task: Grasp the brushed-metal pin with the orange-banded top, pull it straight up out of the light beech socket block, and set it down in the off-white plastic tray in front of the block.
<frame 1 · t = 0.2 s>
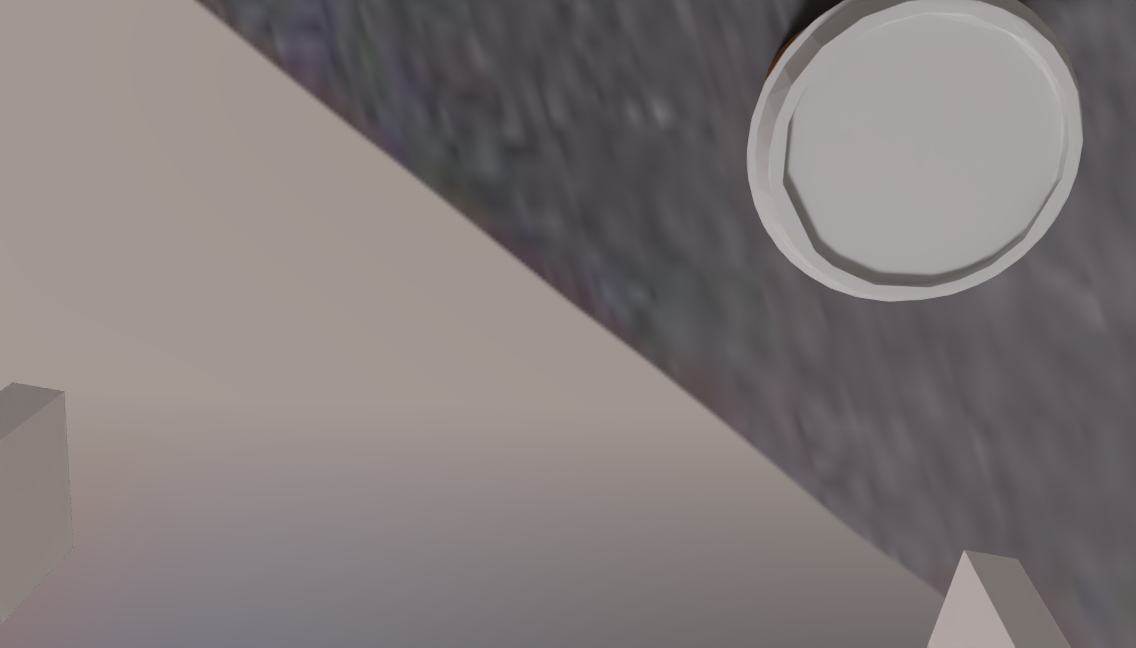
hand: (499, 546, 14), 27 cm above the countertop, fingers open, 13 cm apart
disposable coffee cup: (840, 96, 38), on the countertop
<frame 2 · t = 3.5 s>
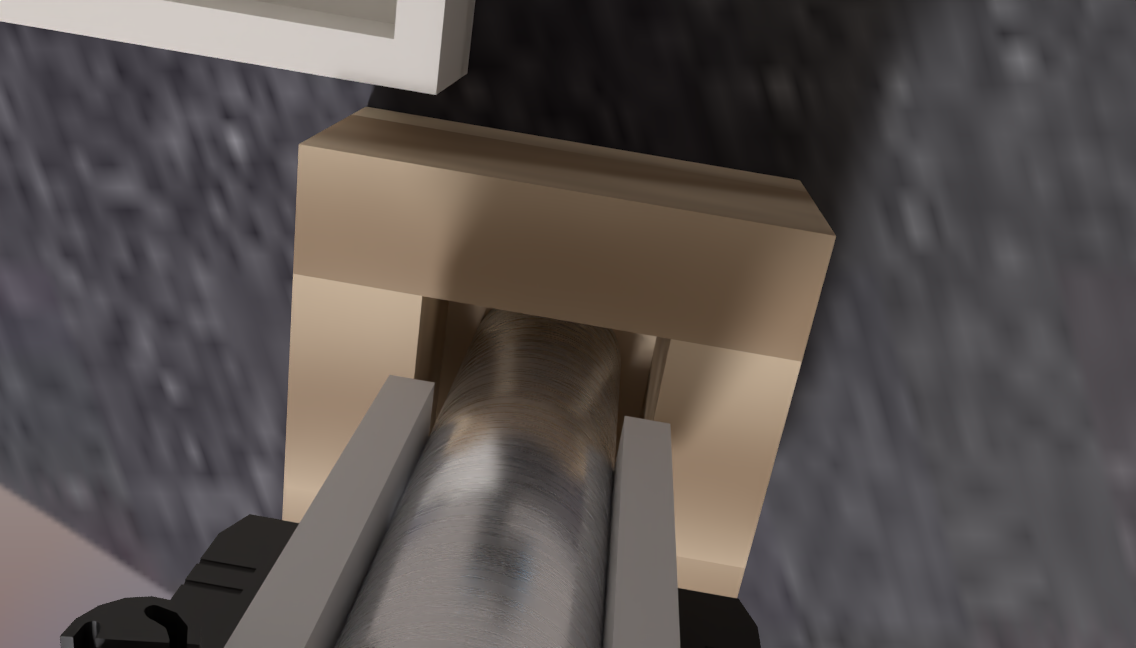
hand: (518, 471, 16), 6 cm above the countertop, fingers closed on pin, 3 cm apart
pin: (545, 360, 20), point 1 cm above the countertop, touching gripper, socket block
socket block: (550, 342, 21), on the countertop
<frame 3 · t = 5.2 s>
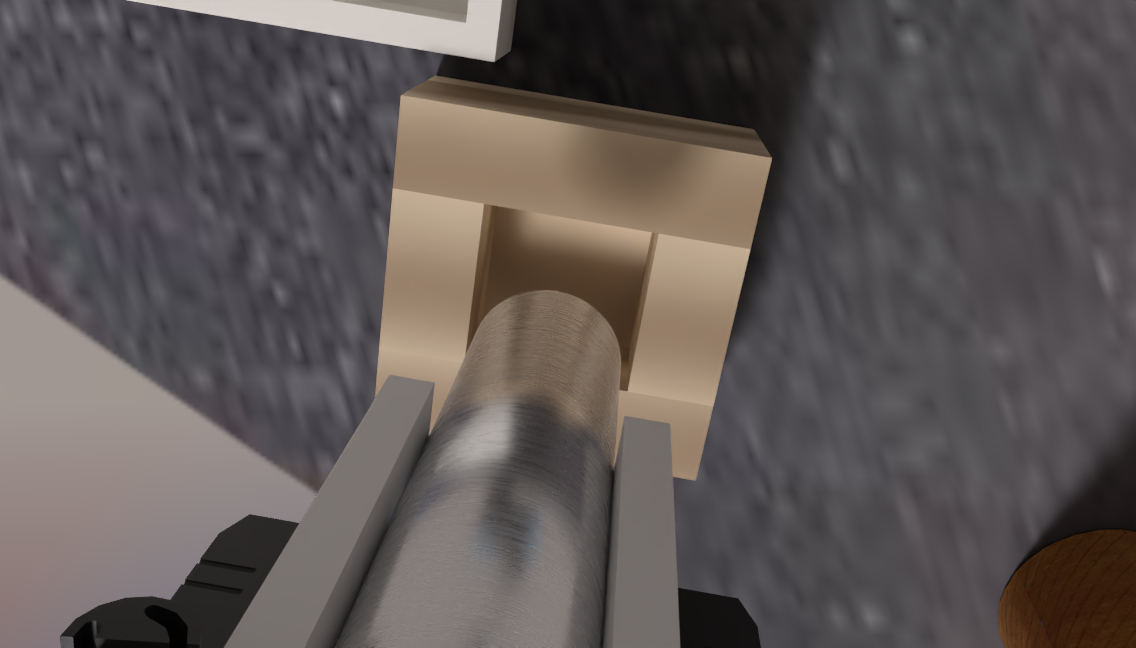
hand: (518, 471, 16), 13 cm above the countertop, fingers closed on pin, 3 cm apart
pin: (545, 360, 20), point 8 cm above the countertop, touching gripper
socket block: (569, 254, 28), on the countertop
disposable coffee cup: (1093, 605, 31), on the countertop
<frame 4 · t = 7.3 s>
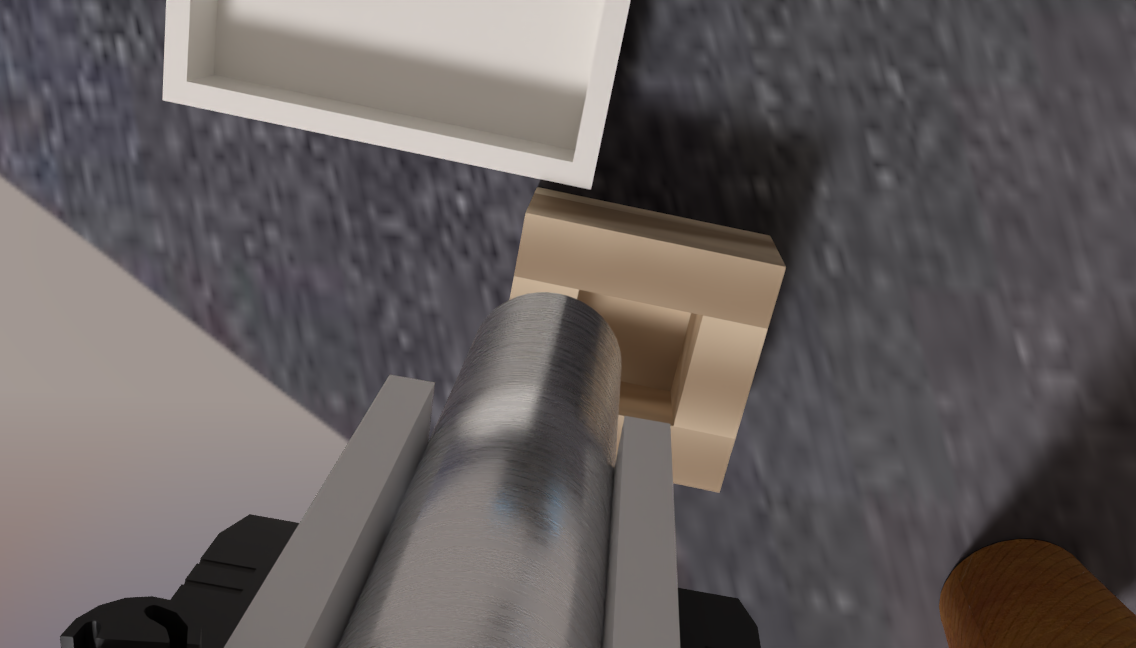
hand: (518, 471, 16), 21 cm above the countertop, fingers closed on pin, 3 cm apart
pin: (546, 362, 20), point 16 cm above the countertop, touching gripper
socket block: (628, 320, 37), on the countertop
disposable coffee cup: (1011, 597, 41), on the countertop
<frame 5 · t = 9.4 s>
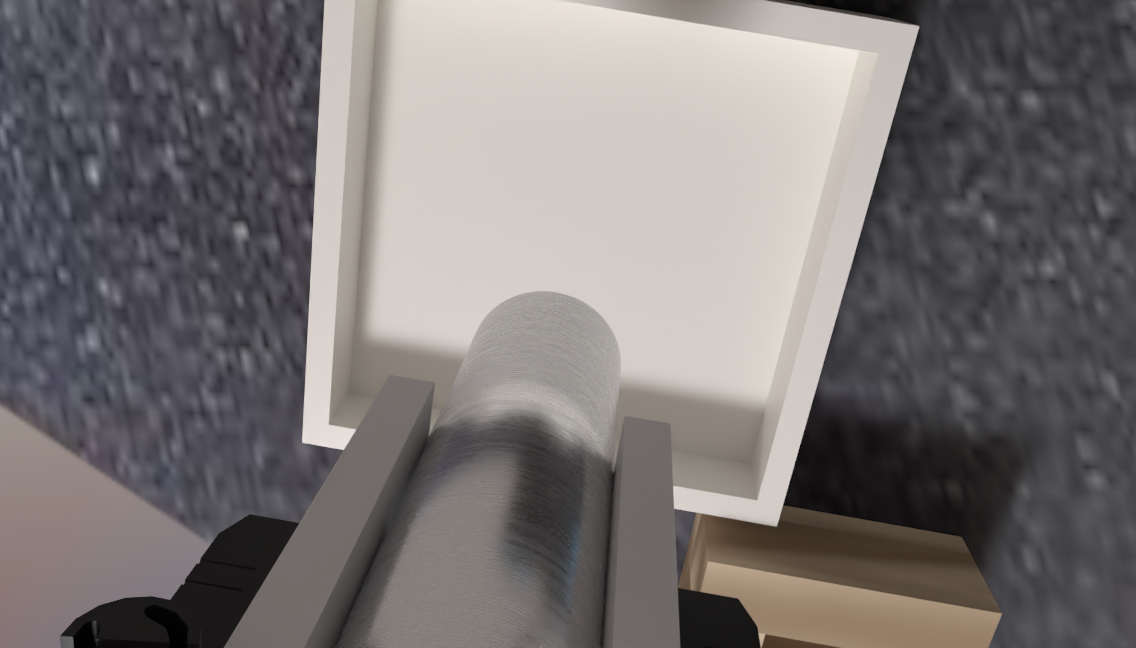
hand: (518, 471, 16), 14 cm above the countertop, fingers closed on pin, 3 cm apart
pin: (545, 362, 20), point 10 cm above the countertop, touching gripper
tray: (582, 228, 29), on the countertop
socket block: (799, 617, 34), on the countertop
when the fingers open (7 cm above the countertop, at t = 11.0 s): pin drops 1 cm, resting on tray.
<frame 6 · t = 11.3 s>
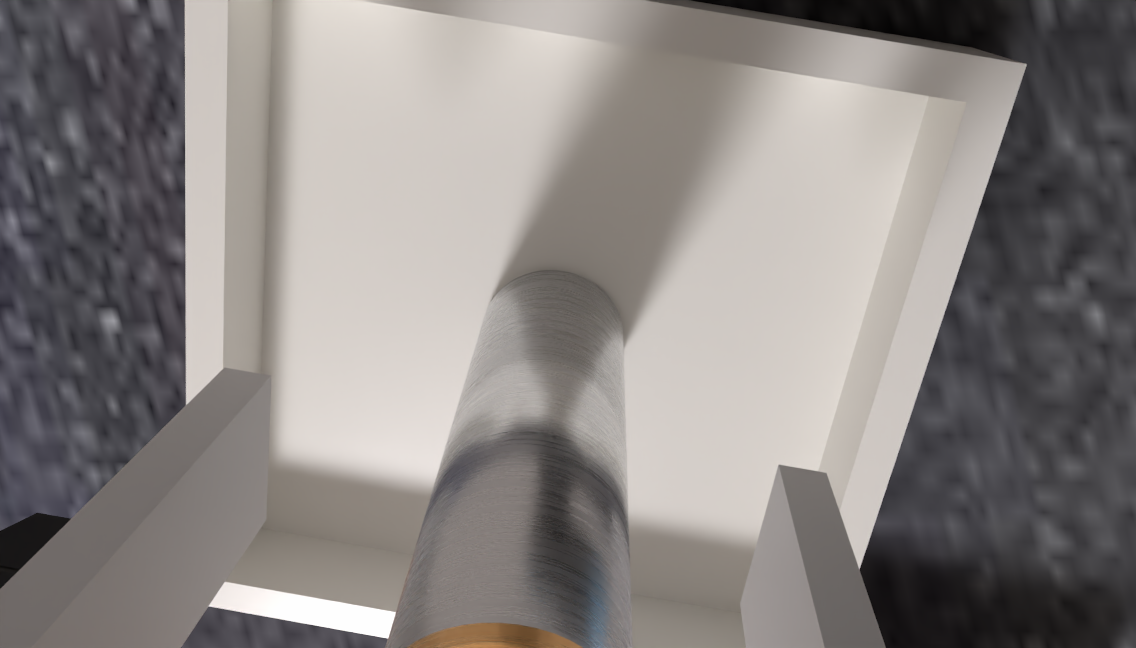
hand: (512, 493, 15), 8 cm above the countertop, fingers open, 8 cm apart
pin: (552, 335, 21), point 1 cm above the countertop, touching tray
tray: (555, 320, 22), on the countertop
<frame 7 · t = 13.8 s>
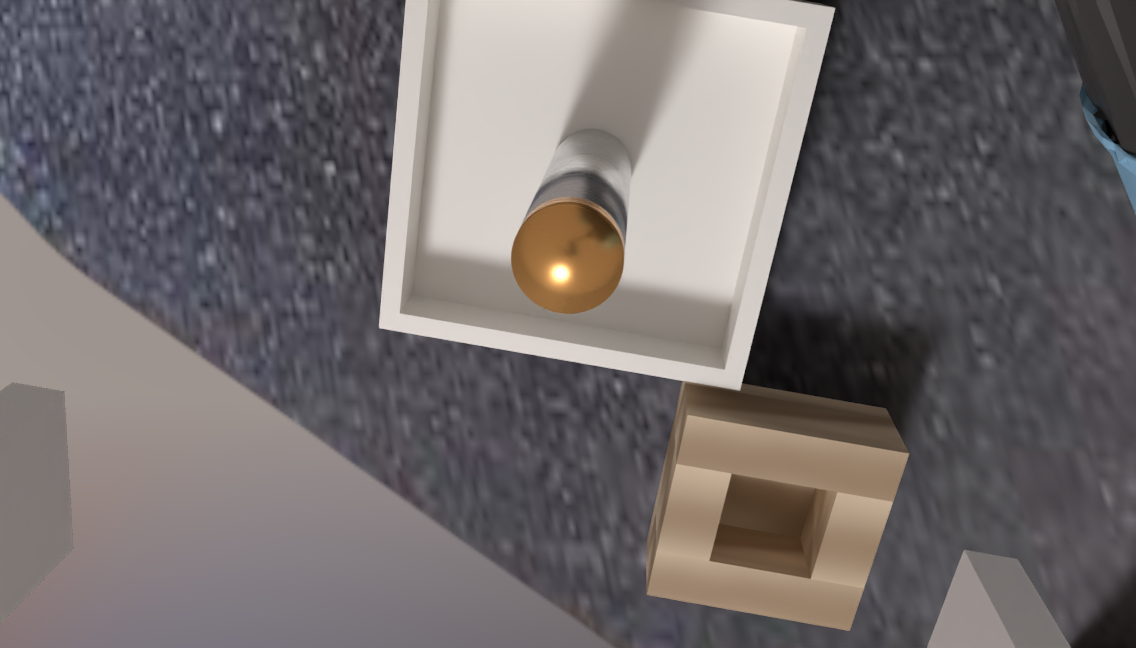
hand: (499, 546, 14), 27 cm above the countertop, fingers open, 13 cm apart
pin: (591, 168, 38), point 1 cm above the countertop, touching tray
tray: (592, 164, 38), on the countertop
socket block: (761, 477, 43), on the countertop
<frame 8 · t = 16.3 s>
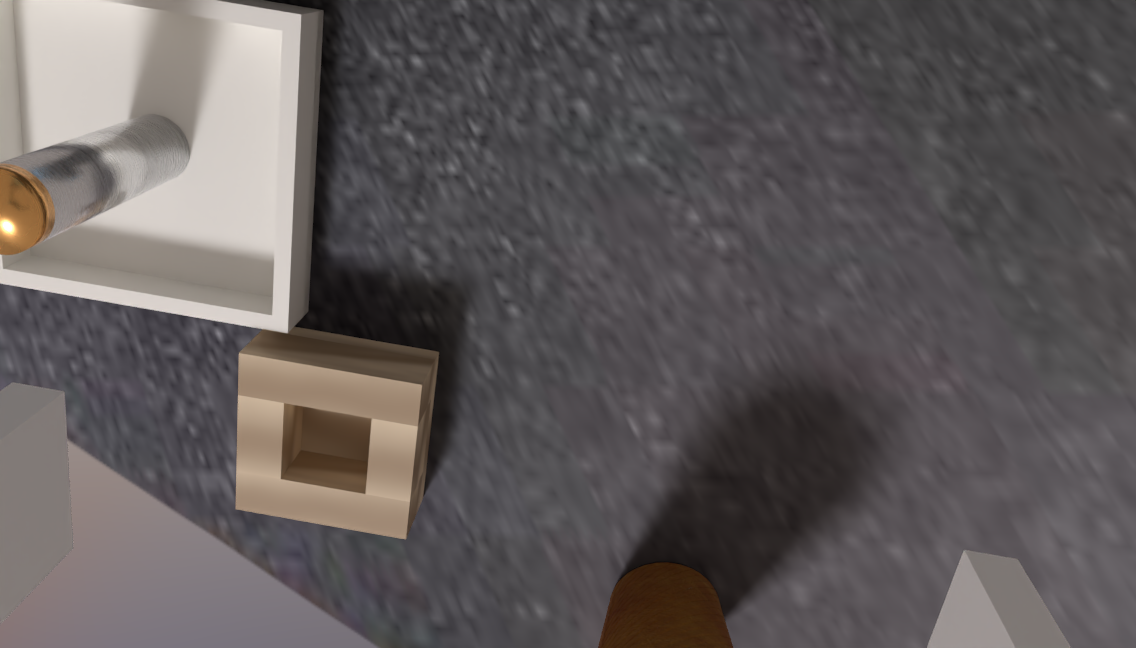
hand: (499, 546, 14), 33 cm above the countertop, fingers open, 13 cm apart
pin: (157, 147, 45), point 1 cm above the countertop, touching tray
tray: (165, 144, 46), on the countertop
socket block: (349, 412, 51), on the countertop
disposable coffee cup: (664, 605, 54), on the countertop
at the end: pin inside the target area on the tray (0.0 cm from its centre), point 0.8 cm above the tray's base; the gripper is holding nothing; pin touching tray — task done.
